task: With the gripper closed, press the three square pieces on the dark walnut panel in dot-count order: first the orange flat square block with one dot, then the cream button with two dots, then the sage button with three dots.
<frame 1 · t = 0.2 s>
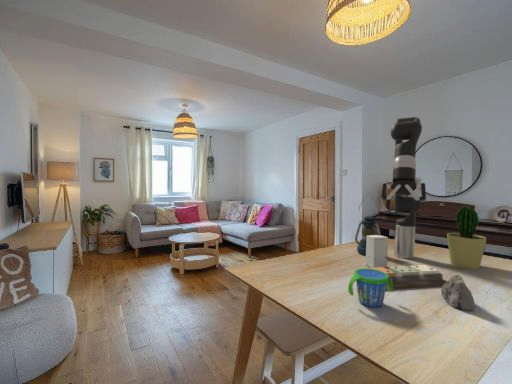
hand: (402, 211, 96), 30 cm above the table, tool tilted 20°, fingers open, 8 cm apart
orange flat square block: (380, 272, 107), point 4 cm above the table, slide at 0.0 cm
skincare box: (376, 266, 128), on the table
snack cup: (370, 303, 89), on the table
lantern: (367, 254, 150), on the table
sage button: (402, 271, 109), point 4 cm above the table, slide at 0.0 cm
button panel: (402, 280, 109), on the table
mineral rock: (457, 303, 90), on the table
potted cactus: (464, 265, 131), on the table
cream button: (423, 270, 111), point 4 cm above the table, slide at 0.0 cm
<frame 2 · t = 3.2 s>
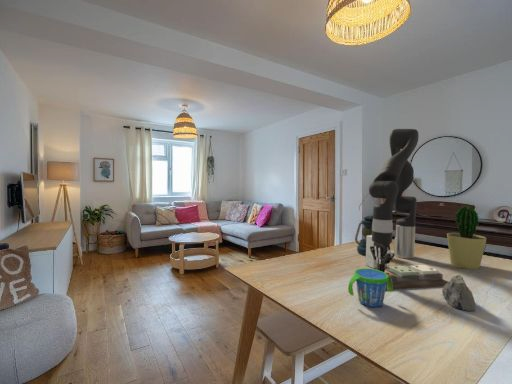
hand: (380, 272, 107), 4 cm above the table, tool pointing down, fingers closed
orange flat square block: (380, 274, 107), point 3 cm above the table, slide at 0.9 cm, touching gripper
everything else where it was.
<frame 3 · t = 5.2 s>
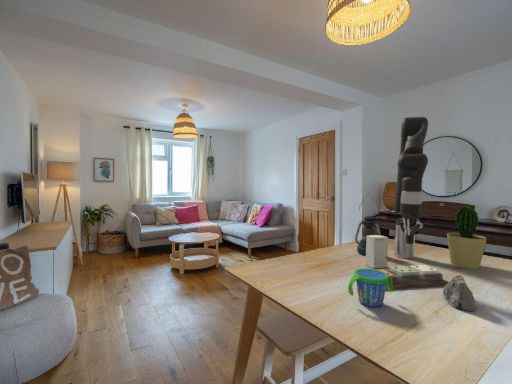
hand: (409, 243, 110), 15 cm above the table, tool pointing down, fingers closed
orange flat square block: (380, 274, 107), point 3 cm above the table, slide at 1.0 cm
everything else where it was.
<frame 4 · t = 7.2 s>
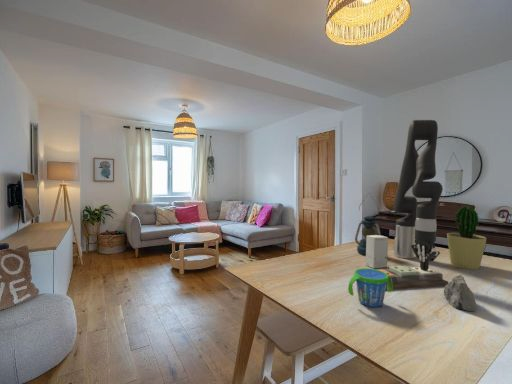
hand: (424, 270, 110), 4 cm above the table, tool pointing down, fingers closed
cream button: (423, 272, 111), point 3 cm above the table, slide at 0.8 cm, touching gripper
everything else where it was.
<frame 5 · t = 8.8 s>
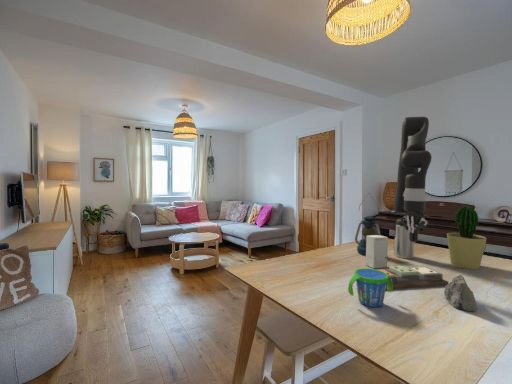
hand: (413, 241, 108), 17 cm above the table, tool pointing down, fingers closed
cream button: (423, 272, 111), point 3 cm above the table, slide at 1.0 cm
everything else where it was.
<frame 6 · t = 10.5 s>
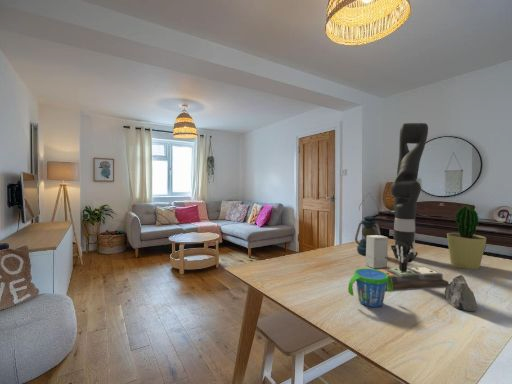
hand: (402, 270, 109), 4 cm above the table, tool pointing down, fingers closed
sage button: (402, 272, 109), point 3 cm above the table, slide at 0.7 cm, touching gripper
everything else where it was.
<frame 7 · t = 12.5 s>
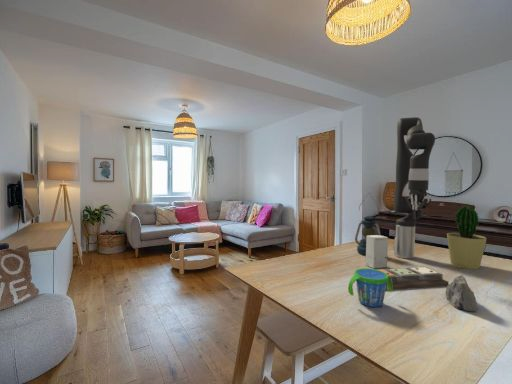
hand: (416, 218, 116), 25 cm above the table, tool pointing down, fingers closed
sage button: (402, 273, 109), point 3 cm above the table, slide at 1.0 cm
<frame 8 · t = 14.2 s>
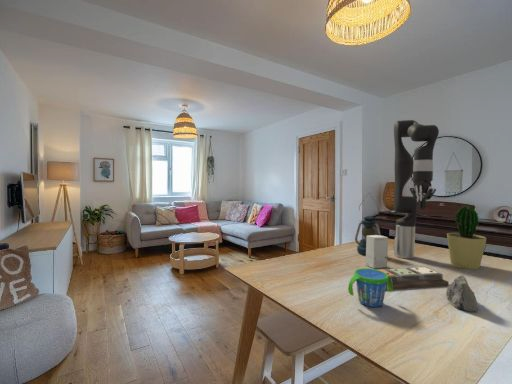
hand: (421, 209, 118), 29 cm above the table, tool pointing down, fingers closed
at the end: orange flat square block slide at 1.0 cm; cream button slide at 1.0 cm; sage button slide at 1.0 cm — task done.
